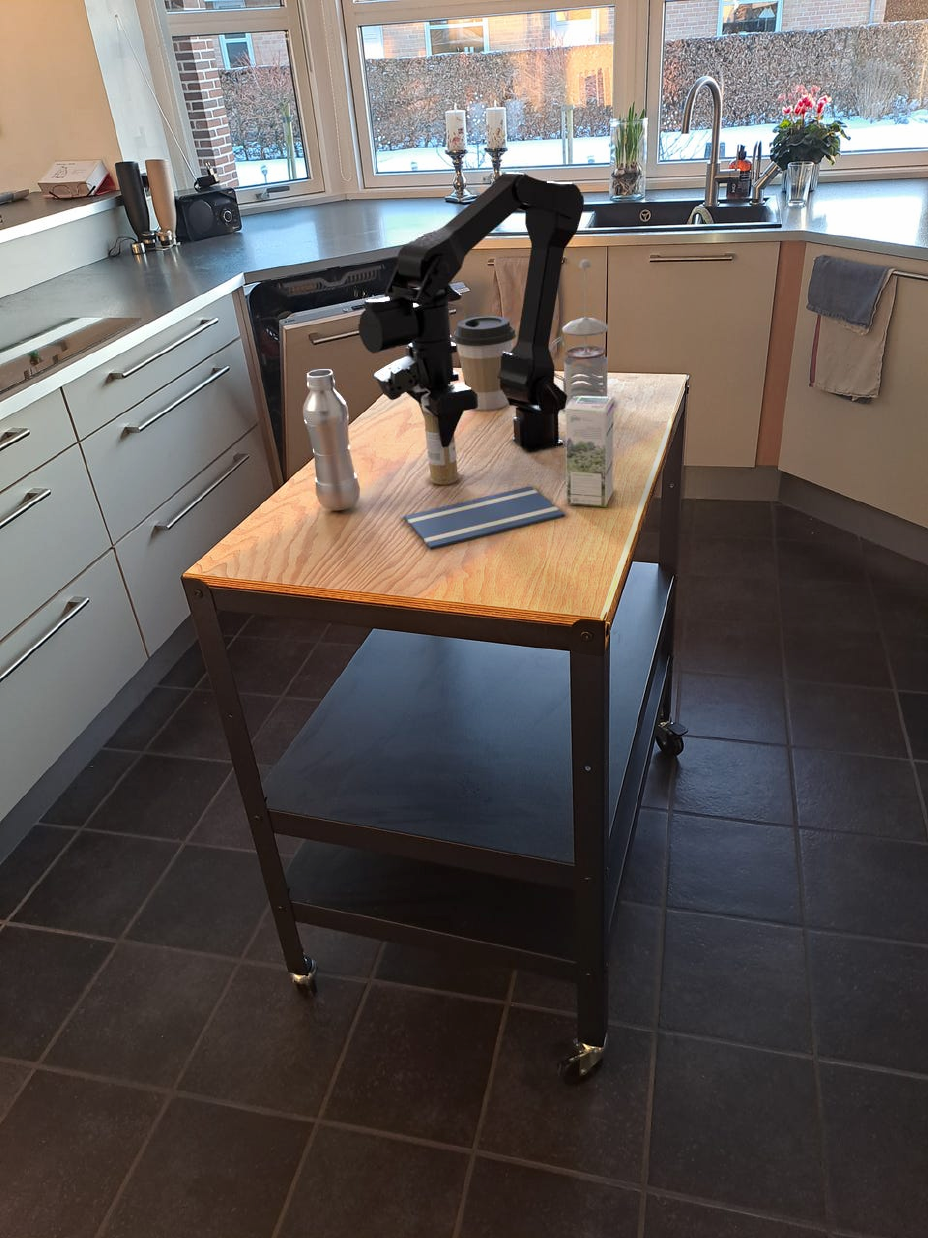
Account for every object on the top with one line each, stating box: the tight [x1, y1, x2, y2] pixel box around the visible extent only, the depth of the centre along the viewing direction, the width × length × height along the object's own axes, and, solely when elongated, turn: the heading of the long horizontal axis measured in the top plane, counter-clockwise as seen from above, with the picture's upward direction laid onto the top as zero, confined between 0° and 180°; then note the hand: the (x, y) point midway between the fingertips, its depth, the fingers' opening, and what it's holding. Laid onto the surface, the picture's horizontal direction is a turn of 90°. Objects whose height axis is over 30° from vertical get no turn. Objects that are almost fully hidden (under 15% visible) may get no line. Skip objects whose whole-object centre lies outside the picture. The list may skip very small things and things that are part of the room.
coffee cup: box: [452, 315, 517, 412], centre depth 168 cm, size 11×11×15 cm
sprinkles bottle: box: [421, 393, 460, 486], centre depth 139 cm, size 5×5×13 cm
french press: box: [549, 259, 610, 412], centre depth 161 cm, size 10×12×25 cm
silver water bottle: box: [302, 368, 361, 511], centre depth 132 cm, size 6×7×20 cm
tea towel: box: [403, 485, 565, 550], centre depth 130 cm, size 20×11×1 cm, turn 112°
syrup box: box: [564, 396, 615, 508], centre depth 129 cm, size 6×6×14 cm
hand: (439, 441), depth 139 cm, fingers closed on sprinkles bottle, 4 cm apart
